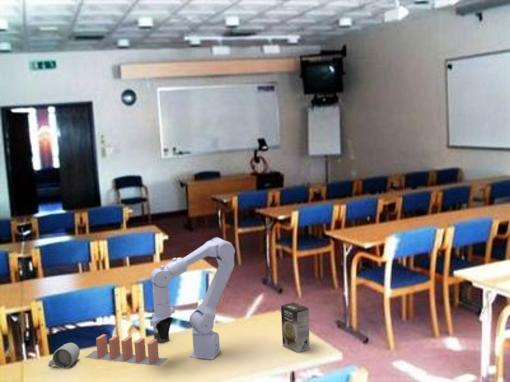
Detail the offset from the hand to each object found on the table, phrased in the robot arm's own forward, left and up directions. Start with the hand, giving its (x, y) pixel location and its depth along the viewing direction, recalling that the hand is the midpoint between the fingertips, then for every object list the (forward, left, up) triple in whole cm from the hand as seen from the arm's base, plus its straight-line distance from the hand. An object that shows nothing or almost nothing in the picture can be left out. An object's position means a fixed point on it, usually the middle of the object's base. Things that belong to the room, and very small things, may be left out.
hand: (164, 338), depth 209 cm
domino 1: (+27, 0, -9) cm, 28 cm away
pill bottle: (+12, -19, -10) cm, 24 cm away
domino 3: (+16, 0, -9) cm, 18 cm away
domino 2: (+22, 0, -9) cm, 23 cm away
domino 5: (+5, 0, -9) cm, 10 cm away
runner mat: (+17, 0, -9) cm, 19 cm away
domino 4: (+11, 0, -9) cm, 14 cm away
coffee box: (-42, -25, -10) cm, 50 cm away
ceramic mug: (+37, +10, -10) cm, 40 cm away
